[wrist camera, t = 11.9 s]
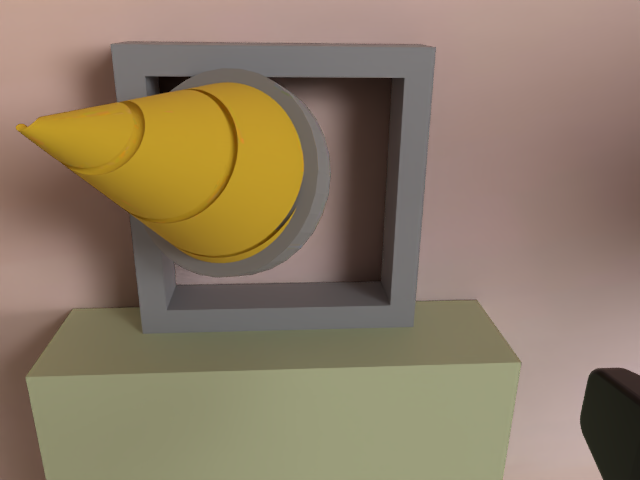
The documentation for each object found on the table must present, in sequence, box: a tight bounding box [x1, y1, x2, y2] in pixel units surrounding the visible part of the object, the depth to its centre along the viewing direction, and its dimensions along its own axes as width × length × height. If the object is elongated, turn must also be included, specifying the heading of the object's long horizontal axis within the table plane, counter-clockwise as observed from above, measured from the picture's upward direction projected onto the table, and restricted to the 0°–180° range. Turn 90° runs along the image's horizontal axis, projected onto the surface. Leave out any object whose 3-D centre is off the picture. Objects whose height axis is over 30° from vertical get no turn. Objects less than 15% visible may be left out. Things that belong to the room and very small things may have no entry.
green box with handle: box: [25, 41, 521, 480], centre depth 19 cm, size 14×20×4 cm
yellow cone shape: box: [16, 68, 331, 277], centre depth 14 cm, size 5×5×10 cm
